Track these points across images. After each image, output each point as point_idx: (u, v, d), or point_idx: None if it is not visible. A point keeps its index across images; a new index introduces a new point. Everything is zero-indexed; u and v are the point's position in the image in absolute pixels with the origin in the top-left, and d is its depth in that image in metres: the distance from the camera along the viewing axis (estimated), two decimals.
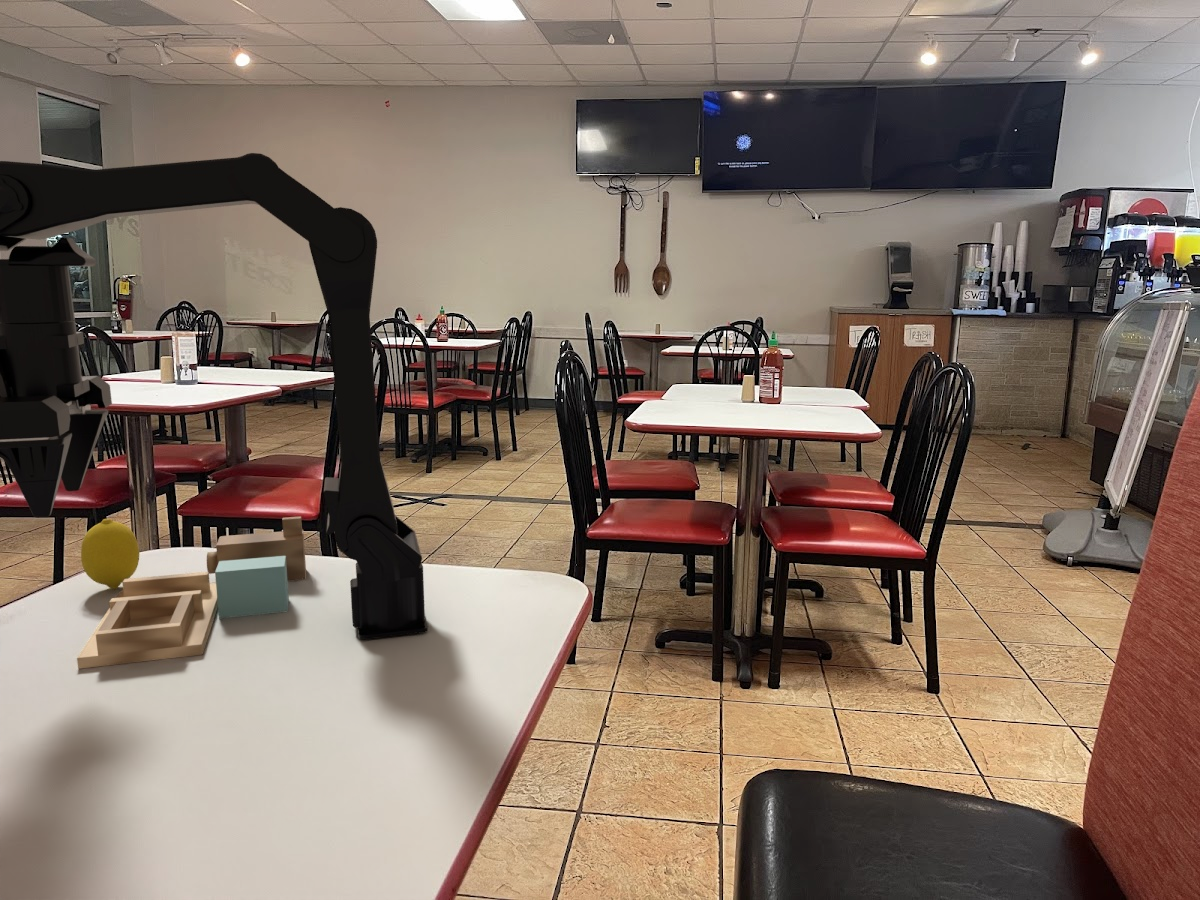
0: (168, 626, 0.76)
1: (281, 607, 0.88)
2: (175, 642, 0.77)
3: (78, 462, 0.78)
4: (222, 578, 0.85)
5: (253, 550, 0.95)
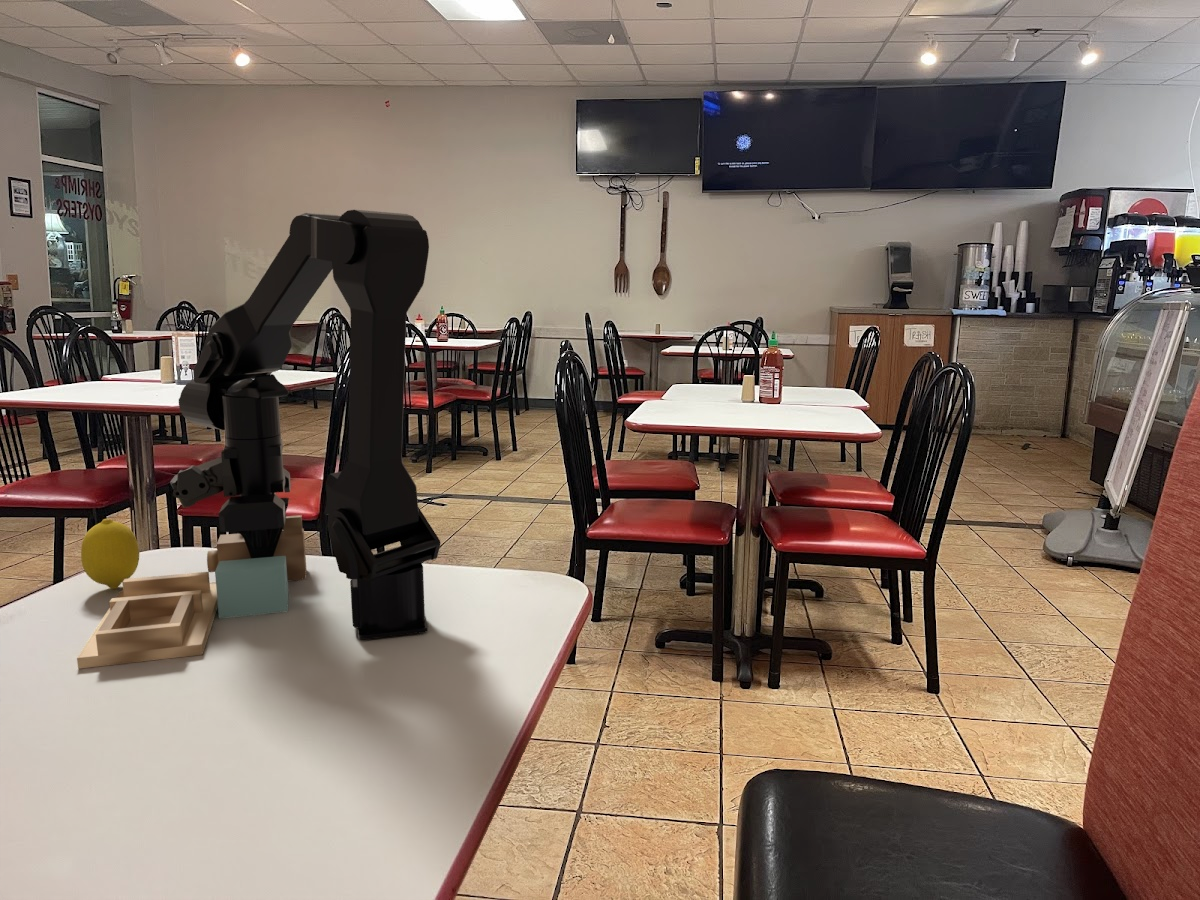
0: (168, 626, 0.76)
1: (281, 607, 0.88)
2: (175, 642, 0.77)
3: None
4: (222, 578, 0.85)
5: None
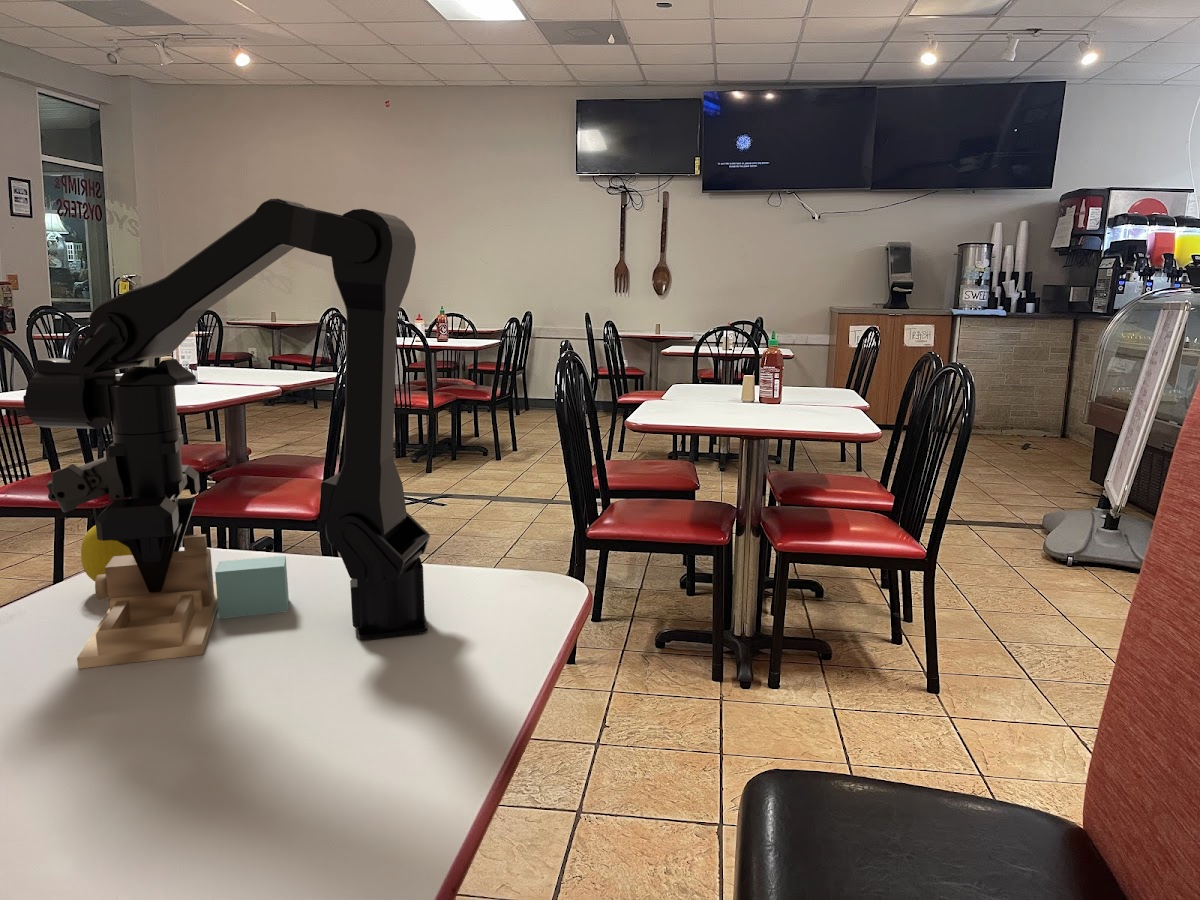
0: (168, 626, 0.76)
1: (281, 607, 0.88)
2: (175, 642, 0.77)
3: None
4: (222, 578, 0.85)
5: None
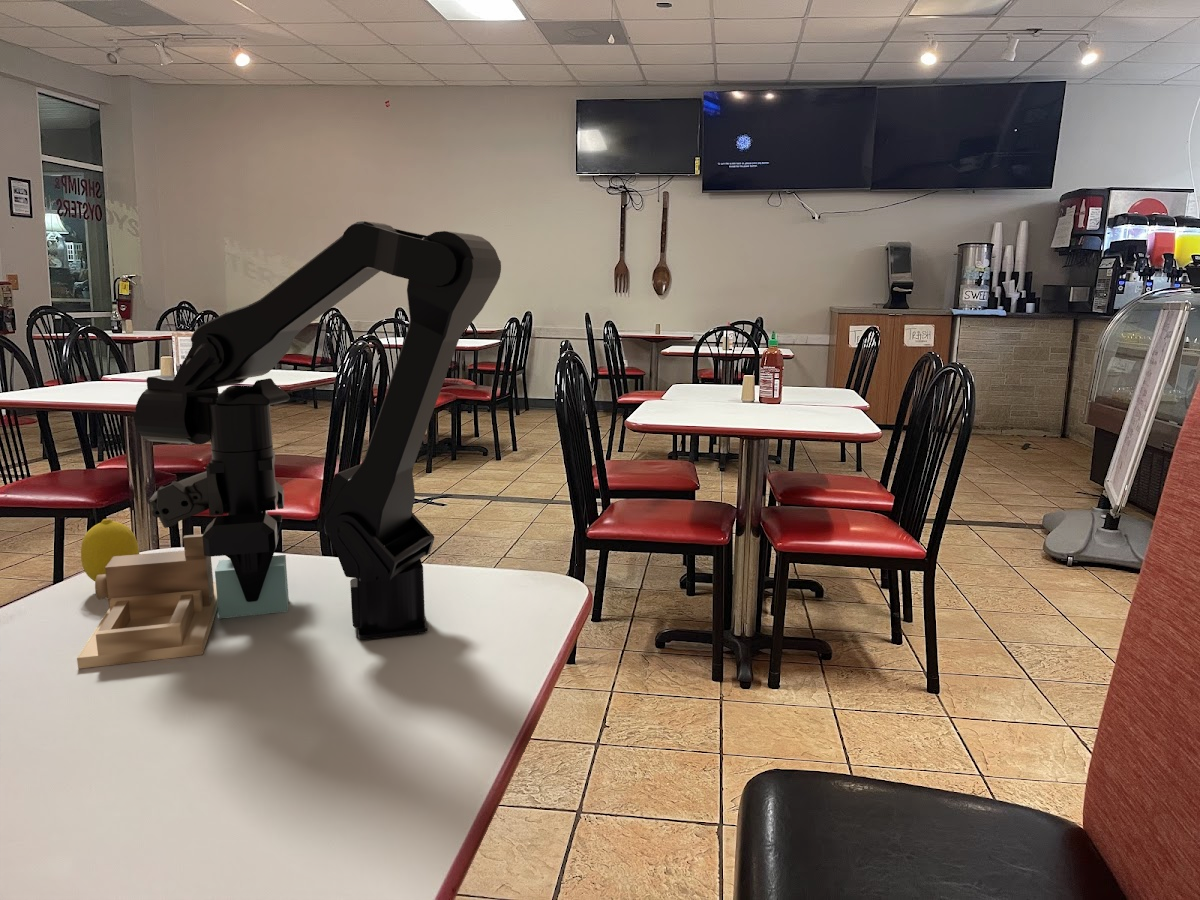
0: (168, 626, 0.76)
1: (281, 606, 0.88)
2: (175, 642, 0.77)
3: None
4: (222, 577, 0.85)
5: (148, 572, 0.84)
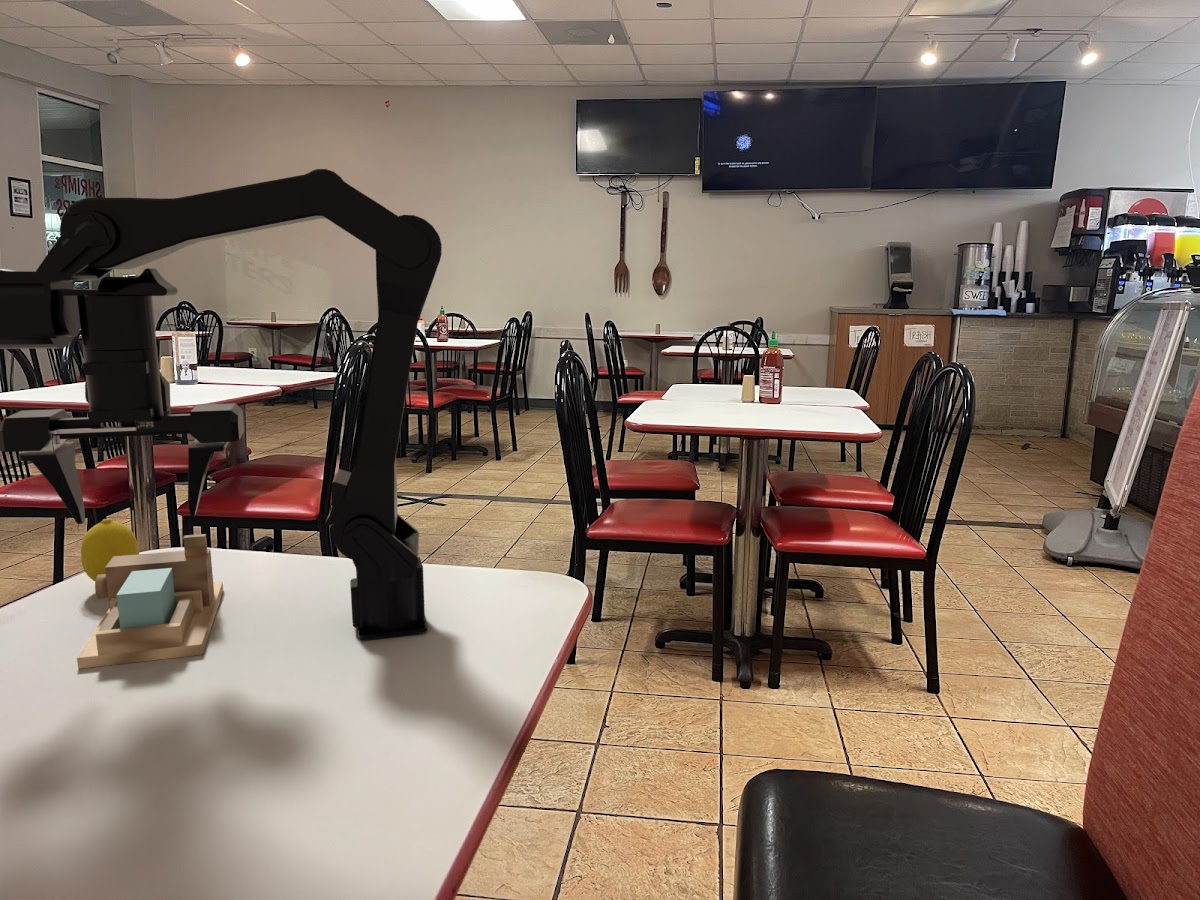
0: (168, 626, 0.76)
1: None
2: (175, 642, 0.77)
3: None
4: None
5: None
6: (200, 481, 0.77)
